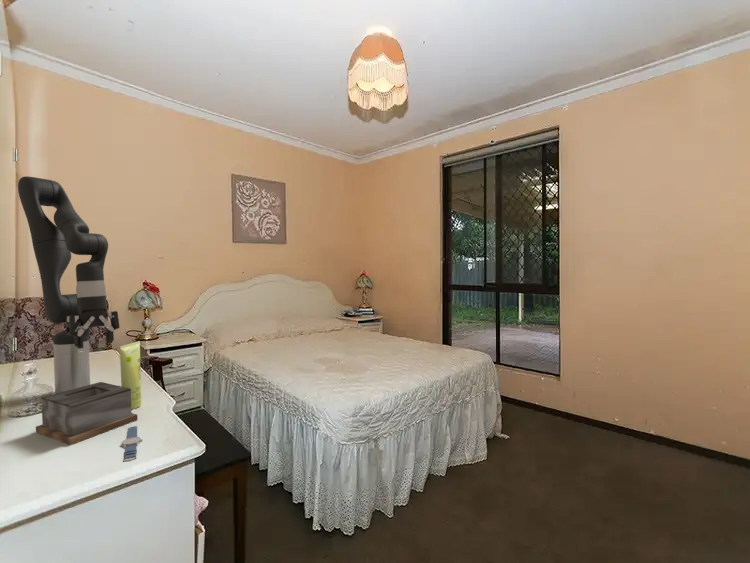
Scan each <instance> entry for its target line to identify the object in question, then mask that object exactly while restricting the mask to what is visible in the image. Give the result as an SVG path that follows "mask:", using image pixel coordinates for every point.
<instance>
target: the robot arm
mask: <svg viewBox="0 0 750 563" xmlns="http://www.w3.org/2000/svg"><path fill="white" fill-rule="evenodd" d="M17 191H18V192H17V193H18V196H19V200H20V203H21V206H22V209H23V212H24V214H25V217H26V221H27V225H28V227H29V231H30V237H31V242H32V247H33V252H34V256H35V259H36V264H37V266H38V272H39V275H40V280H41V288H42V289H41V290H42V296H43V297H42V298H43V304H44V312H45V315H46V317H47V319H48V320H49V322H50V323H52V324H63V323H65V329H63V330H61V331H59V332H57V333H56V334H54V335H53V338H52V342H53V344H52V346H53V371H54V372H53V373H54V394H56V393H60V392H64V391H67V390H71V389H75V388H79V387H83V386H87V385H91V375H90V374H91V371H90V367H91V366H90V365H91V364H90V343H89V342H90V341H89V340H90V338H89V336H90V332H91V328H95V327H101V328H102V329H104V330H105V340H106V341H105V343H106V344H112V343H113V341H114V340H115V339H114V335H115V334H114V332H115V330H117V329H120V320H119V314H118V311H115V310H112V311H107V310H108V305H107V302H108V301H107V290H106V284H105V275H104V274H105V273H104V267H105V262H106V258H107V254H108V250H109V243H108V239H107V238H106V236H104V235H103V234H99V233H90V228H89V226H88V224H87V223H86V222H85V221H84V220H83V219H82V217H81V216H80V215H79V214H78V213H77V212H76V210H75V208H74V206H73V204H72V202H71V200H70V199H69V196H68V194H67V192H66V191H65V189H64V188H63V186H62V185H61V184H60V183H59V182H58V181H56V180H51V179H47V178H41V177H35V176H34V177H33V176H22V177H20V179H19V180H18V182H17ZM43 207H53V208H55V209H56V210H55V212H54V214H53V222H54V223H53V222H52V220H50V218H48V217H47V215H46V213H45V211H44V210H43ZM72 254H74V255H77V256H91V257H90V259H89V260H88V261H85V262H80V263H78V264H76V266H75V277H76V287H75V288H76V289H75V291H76V293H72V294H62V293H61V287H60V286H61V279H62V277H63V275H64V274H65V271H66V269H68V266H69V264H70V262H71V260H72ZM108 318H109V319H110V322H109V321H108V320H107V319H108Z"/></svg>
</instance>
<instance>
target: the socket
mask: <svg viewBox="0 0 750 563" xmlns="http://www.w3.org/2000/svg"><path fill="white" fill-rule="evenodd" d="M40 400H41V418H42V419H41V421H42V424H40V425H37V426H36V425H35V433H36V432H37V433H36V434H39V435H42V436H45V437H48V438H50V439H53V440H56V441H59V442H61V443H65V444H67V445H70V446H73V445H74V444H75V445H76V444H78V443H81V442H83V441H85V440H88V439H90V438H94V437H96V436H99V435H101V434H104V433H107V432H110V431H113V430H115V429H117V428H119V427H122V426H125V425H127V424H131V423H133V422H136V421H138V415H139V414H136V413H132V409H131V389H130V388H126V387H121V385H117V384H116V385H115V384H112V383H107V382H102V381H99V382H94V383H92V384H91V383H90V385H87V386H83V387H79V388H75V389H71V390H67V391H64V392H60V393H56V394H55V393H52V394H48V395H45V396H41V399H40ZM135 420H136V421H135ZM132 421H133V422H132ZM130 422H131V423H130Z"/></svg>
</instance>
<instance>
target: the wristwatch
mask: <svg viewBox="0 0 750 563" xmlns="http://www.w3.org/2000/svg"><path fill="white" fill-rule="evenodd" d="M141 442H143V438H141V437H138V426H135V425H134V426H130V427H128V429H127V435H126V439H124V440H122V441H121V447H123V449H124V453H123V457H124V458H123V460H122V461H123V462H125V463H127V462H131V461H135V460H136V459H137V453H138V449H137V446H139V444H141Z"/></svg>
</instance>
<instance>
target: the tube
mask: <svg viewBox="0 0 750 563" xmlns="http://www.w3.org/2000/svg"><path fill="white" fill-rule="evenodd" d="M119 357H120V360H119V361H120V378H121V379H120V382H121V383H120V384H121V385H120V386H121V387H126V388H130V389H131V410H135V409H137V408H140V407H141V406H142V384H141V383H142V382H141V381H142V380H141V379H142V378H141V377H142V376H141V372H142V371H141V342H140V340H138V341H134V342H130V343H128V344H124V345H121V346H119Z"/></svg>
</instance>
